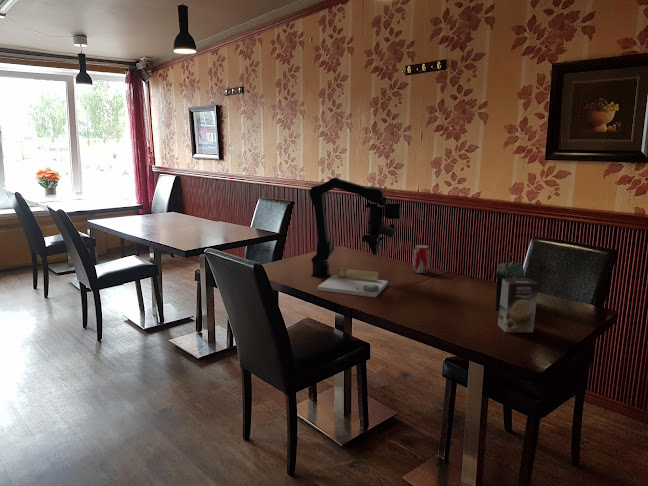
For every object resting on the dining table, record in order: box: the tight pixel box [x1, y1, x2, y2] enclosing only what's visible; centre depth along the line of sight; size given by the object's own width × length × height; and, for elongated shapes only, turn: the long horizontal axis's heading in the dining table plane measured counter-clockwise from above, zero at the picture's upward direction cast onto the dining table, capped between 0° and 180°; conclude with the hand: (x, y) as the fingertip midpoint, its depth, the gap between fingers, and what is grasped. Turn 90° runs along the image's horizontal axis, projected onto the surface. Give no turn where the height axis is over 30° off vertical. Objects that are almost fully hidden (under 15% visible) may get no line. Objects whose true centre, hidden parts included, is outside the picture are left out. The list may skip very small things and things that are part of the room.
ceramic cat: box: [495, 252, 526, 312], centre depth 175 cm, size 20×6×20 cm, turn 139°
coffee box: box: [497, 277, 539, 333], centre depth 154 cm, size 9×6×16 cm
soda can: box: [412, 244, 431, 274], centre depth 219 cm, size 7×7×12 cm
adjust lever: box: [337, 267, 379, 281], centre depth 204 cm, size 17×4×4 cm, turn 68°
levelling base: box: [317, 274, 389, 298], centre depth 198 cm, size 24×18×3 cm
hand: (375, 254), depth 206 cm, fingers closed
